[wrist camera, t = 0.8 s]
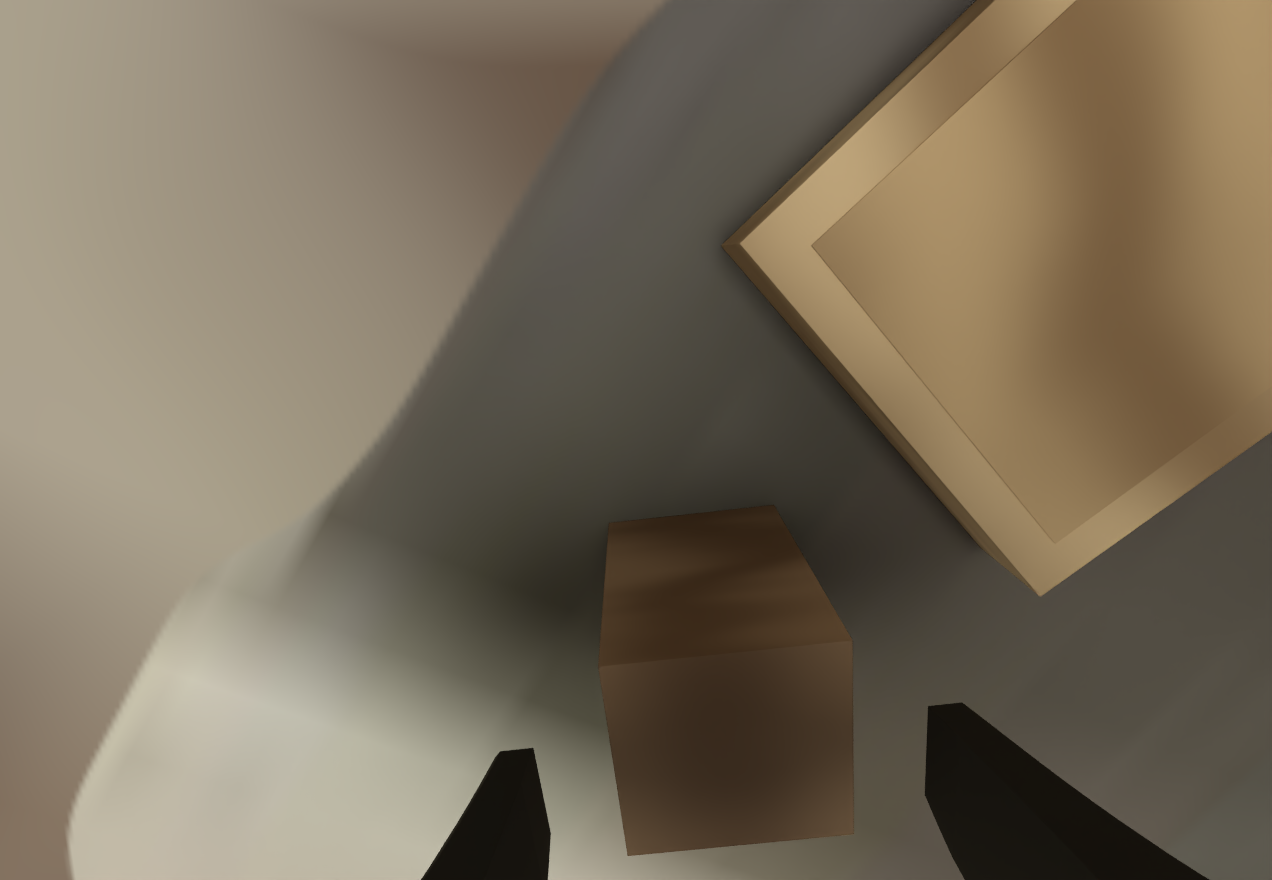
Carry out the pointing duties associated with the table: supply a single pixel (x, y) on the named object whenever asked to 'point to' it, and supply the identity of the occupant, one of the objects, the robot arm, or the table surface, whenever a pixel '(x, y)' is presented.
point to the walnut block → (723, 685)
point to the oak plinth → (1047, 264)
